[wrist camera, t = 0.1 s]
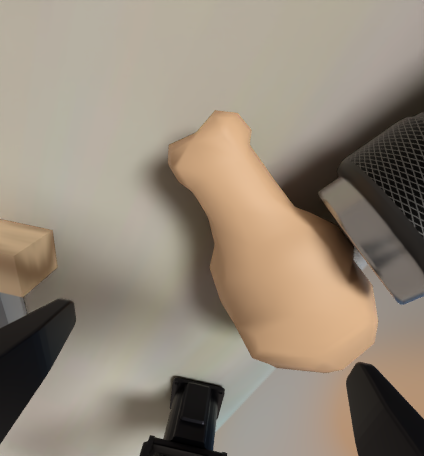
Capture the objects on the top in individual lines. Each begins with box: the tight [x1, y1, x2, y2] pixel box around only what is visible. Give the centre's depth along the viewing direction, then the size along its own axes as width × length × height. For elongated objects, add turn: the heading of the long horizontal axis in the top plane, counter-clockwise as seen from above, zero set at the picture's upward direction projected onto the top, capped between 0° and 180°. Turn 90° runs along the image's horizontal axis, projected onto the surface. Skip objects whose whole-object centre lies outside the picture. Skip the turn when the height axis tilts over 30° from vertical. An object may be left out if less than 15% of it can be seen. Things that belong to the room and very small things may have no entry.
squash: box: [168, 110, 378, 373], centre depth 19 cm, size 11×20×9 cm, turn 34°
